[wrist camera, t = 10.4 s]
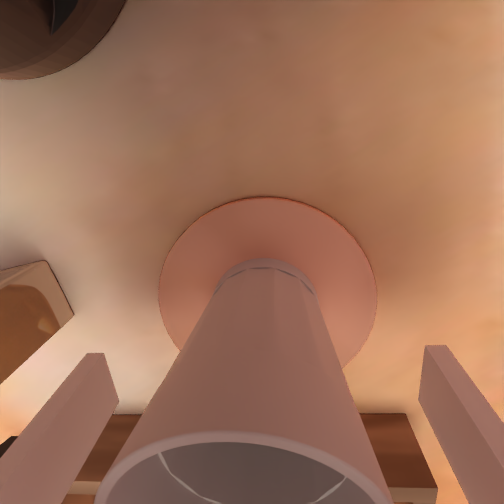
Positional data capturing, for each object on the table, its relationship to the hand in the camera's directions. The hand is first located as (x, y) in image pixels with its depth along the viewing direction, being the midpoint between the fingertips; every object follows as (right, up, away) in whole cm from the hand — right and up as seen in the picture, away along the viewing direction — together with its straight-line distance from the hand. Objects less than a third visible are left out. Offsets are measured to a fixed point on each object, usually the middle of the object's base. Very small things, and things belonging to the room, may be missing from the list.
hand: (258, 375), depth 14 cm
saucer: (+1, +2, +7) cm, 7 cm away
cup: (+1, +2, +6) cm, 6 cm away
